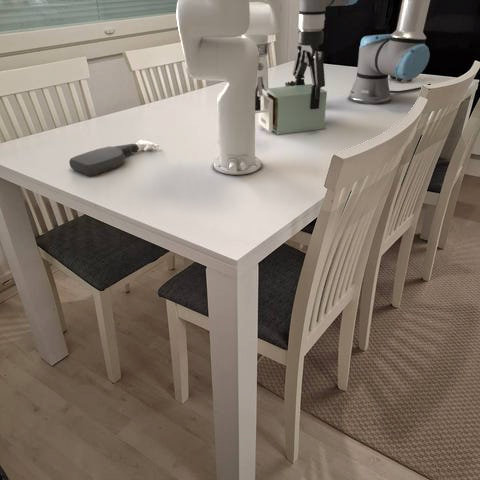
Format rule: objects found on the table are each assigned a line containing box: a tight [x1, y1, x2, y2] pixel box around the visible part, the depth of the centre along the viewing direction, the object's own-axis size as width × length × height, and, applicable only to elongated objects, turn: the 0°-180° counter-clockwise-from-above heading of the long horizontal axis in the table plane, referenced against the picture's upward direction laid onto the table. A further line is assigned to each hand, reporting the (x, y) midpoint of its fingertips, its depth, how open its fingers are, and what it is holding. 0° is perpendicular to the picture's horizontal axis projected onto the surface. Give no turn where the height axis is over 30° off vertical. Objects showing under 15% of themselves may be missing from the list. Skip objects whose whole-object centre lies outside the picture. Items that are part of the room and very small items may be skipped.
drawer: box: [255, 93, 278, 133], centre depth 143 cm, size 21×10×10 cm, turn 108°
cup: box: [284, 80, 306, 87], centre depth 167 cm, size 8×7×8 cm
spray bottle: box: [68, 139, 160, 177], centre depth 124 cm, size 3×11×24 cm
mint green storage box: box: [265, 83, 328, 135], centre depth 144 cm, size 16×11×12 cm
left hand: (254, 111), depth 141 cm, fingers closed
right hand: (306, 104), depth 145 cm, fingers closed on mint green storage box, 11 cm apart
